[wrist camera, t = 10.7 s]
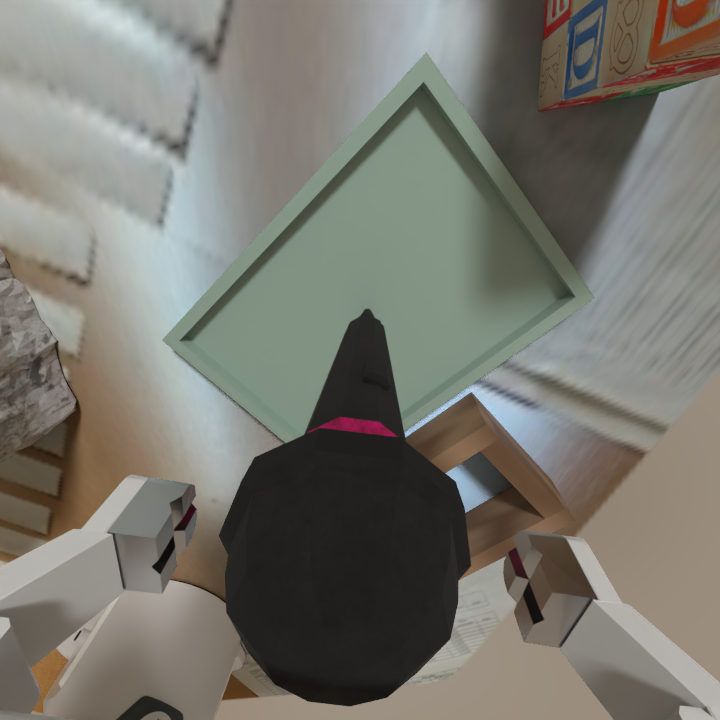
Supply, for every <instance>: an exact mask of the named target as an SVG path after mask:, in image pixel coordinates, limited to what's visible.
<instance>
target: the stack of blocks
mask: <svg viewBox="0 0 720 720" xmlns="http://www.w3.org/2000/svg"><path fill="white" fill-rule="evenodd" d="M718 74H720V0H546V7H545V20H544V35H543V45H542V55H541V69H540V83H539V97H538V111H544V110H551V109H558V108H564V107H571V106H577V105H584V104H590V103H596V102H599V101H603V100H610V99H617V98H624V97H631V96H638V95H645V94H652V93H659V92H663V91H666V90H670V89H673V88H677V87H679V86H682V85H685V84H689V83H692V82H695V81H698V80H701V79H704V78H707V77H711V76H715V75H718Z"/></svg>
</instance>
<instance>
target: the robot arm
mask: <svg viewBox="0 0 720 720" xmlns="http://www.w3.org/2000/svg"><path fill="white" fill-rule="evenodd" d="M195 496H196V493H195V486H194V485H192V484H187V483H181V482H175V481H169V480H163V479H157V478H150V477H143V476H137V475H130V476H128V477H126V478H125V479H124V480H123V481H122V482H121V483H120V484H119V485H118V487H117V488H116V489H115V490H114V491H113V492H112V494H111V495H110V496H109V497H108V498H107V499H106V500H105V502H104V503H103V504H102V505H101V506H100V507H99V509H98V510H97V511H96V512H95V513H94V514H93V516H92V517H91V518H90V519H89V520H88V521H87V523H86V524H85V525H84V526H83V527H82V528H81V529H72V530H70V531H69V532H67V533H65V534H63V535H61V536H59V537H57V538H55V539H53V540H51V541H49V542H47V543H45V544H44V545H42V546H40V547H38V548H36V549H34V550H32V551H30V552H28V553H26V554H24V555H22V556H20V557H19V558H17V559H15V560H13V561H11V562H9V563H7V564H5V565H3V566H1V567H0V720H214V719H215V716H216V714H217V711H218V708H219V705H220V702H221V700H222V697H223V694H224V692H225V689H226V686H227V683H228V681H229V678H230V675H231V672H233V671H236V670H239V669H241V668H242V666H243V663H244V660H245V658H246V655H245V652H244V650H243V648H242V647H241V645H240V639H241V638H240V636H239V634H238V633H237V631H236V629H235V627H234V625H233V624H232V622H231V620H230V618H229V616H228V615H227V613H226V603H224V602H223V601H222V600H220V599H219V598H218V597H216V596H214V595H213V594H211V593H209V592H207V591H205V590H203V589H200V588H198V587H195V586H192V585H189V584H186V583H182V582H178V581H172V580H170V579H171V577H172V575H173V573H174V571H175V569H176V567H177V560H176V556H177V555H178V554H180V553H181V552H183V551H184V550H186V548H187V546H188V544H189V542H190V540H191V538H192V535H193V532H194V529H195V526H196V519H197V509H196V508H195V507H194V505H193V504H192V501H193V500H194V498H195ZM514 543H515V545H516V548H514V549H512V550H511V551H509V552H508V553H507V556H506V558H505V560H504V570H503V574H504V581H505V585H506V588H507V592H508V594H509V595H510V596H511V597H512V598H513V599H514V600H515V601H516V602H517V605H516V608H515V610H514V614H515V617H516V620H517V623H518V626H519V629H520V632H521V635H522V638H523V641H524V642H527V643H533V644H539V645H545V646H551V647H558V648H561V649H560V651H561V652H562V654H563V655H564V656H565V658H566V659H567V660H568V661H569V663H570V664H571V665H572V667H573V668H574V669H575V670H576V672H577V673H578V674H579V676H580V677H581V678H582V679H583V681H584V682H585V683H586V684H587V686H588V687H589V688H590V689H591V691H592V692H593V694H594V695H595V696H596V697H597V699H598V700H599V701H600V703H601V704H602V705H603V706H604V708H605V709H606V710H607V711H608V713H609V714H610V715H611V717H612V718H613V719H614V720H720V683H719V682H718V681H717V680H716V679H715V678H713V677H712V676H711V675H710V674H709V673H708V672H707V671H705V670H704V669H703V668H702V667H701V666H699V664H697V663H696V662H695V661H694V660H692V658H690V657H689V656H688V655H687V654H686V653H685V652H683V651H682V650H681V649H680V648H679V647H678V646H676V645H675V644H674V643H673V642H672V641H671V640H670V639H668V638H667V637H666V636H665V635H664V634H663V633H661V632H660V631H659V630H658V629H657V628H656V627H654V626H653V625H652V624H651V623H650V622H649V621H647V620H646V619H645V618H644V617H643V616H642V615H641V614H639V613H638V612H637V611H636V610H635V609H634V608H632V607H631V606H630V605H629V604H623V603H622V602H621V600H620V598H619V597H618V595H617V593H616V592H615V590H614V588H613V587H612V585H611V583H610V581H609V580H608V578H607V576H606V575H605V573H604V571H603V569H602V568H601V566H600V565H599V563H598V561H597V559H596V558H595V556H594V554H593V553H592V551H591V549H590V548H589V546H588V544H587V543H586V542H585V541H584V540H583V539H582V538H578V537H570V536H563V535H557V534H549V533H541V532H533V531H525V530H520V531H519V532H518V533H517V534H516V536H515V538H514ZM55 648H57V650H58V651H59V652H60V653H61V654H62V655H63V656H64V657H65V658H67V659H68V662H67V663H66V665H65V667H64V668H63V670H62V671H61V673H60V674H59V676H58V678H57V679H56V681H55V682H54V684H53V685H52V687H51V689H50V690H49V692H48V693H47V695H46V697H45V698H44V701H43V715H38V714H30V713H31V712H32V710H33V708H34V707H35V705H36V704H37V702H38V701H39V699H40V697H41V695H40V688H39V685H38V683H37V681H36V679H35V676H34V674H33V672H32V670H31V668H32V667H33V666H34V665H35V664H37V663H38V662H39V661H40V660H42V659H43V658H44V657H45V656H46V655H48V654H49V653H50V652H51V651H53V650H54V649H55Z"/></svg>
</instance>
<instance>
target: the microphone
mask: <svg viewBox="0 0 720 720" xmlns="http://www.w3.org/2000/svg"><path fill="white" fill-rule="evenodd" d="M219 537H220V539H221V541H222V543H223V545H224V547H225V549H226V551H227V553H228V555H229V556H228V562H227V567H226V573H225V585H226V613H227V615H228V616H229V618H230V620H231V622H232V624H233V625H234V627H235V629H236V631H237V633H238V634H239V636H240V638H241V640H242V642H243V643H244V645H245V647H246V649H247V651H248V652H249V654H250V655H251V656H252V657H253V659H254V660H255V661H256V662H257V663H258V665H259V666H260V667H261V668H262V669H263V671H264V672H265V673H266V674H267V675H268V677H269V678H270V679H271V680H272V682H273V683H274V684H275V685H277V686H279V687H281V688H283V689H285V690H287V691H289V692H291V693H293V694H295V695H297V696H299V697H301V698H302V699H305V700H306V701H309V702H317V703H326V704H334V705H343V706H353V705H357V704H361V703H366V702H370V701H374V700H379V699H383V698H387V697H388V696H389V695H391V694H392V693H393V692H394V691H395V690H397V689H398V688H399V687H400V686H401V685H403V684H404V683H405V682H406V681H408V680H409V679H410V678H411V677H412V676H414V675H415V674H416V673H417V672H418V671H419V670H420V669H421V668H422V667H423V666H424V665H425V664H426V663H427V662H428V661H429V660H430V659H431V658H432V657H433V656H434V655H435V654H436V653H437V652H438V651H439V650H440V649H441V648H442V647H443V646H444V645H445V644H446V643H447V642H448V641H449V640H450V637H451V633H452V628H453V623H454V619H455V614H456V609H457V605H458V580H459V579H460V578H461V577H462V576H463V575H464V574H465V573H466V571H467V570H468V569H469V568H470V567H471V559H470V550H469V542H468V534H467V525H466V517H465V509H464V506H463V503H462V500H461V497H460V494H459V491H458V488H457V485H456V482H455V481H454V480H453V479H451V478H450V477H449V476H448V475H446V474H445V473H444V472H443V471H442V470H440V469H439V468H438V467H437V466H435V465H434V464H433V463H432V462H430V461H429V460H428V459H427V458H425V457H424V456H423V455H422V454H421V453H419V452H418V451H417V450H416V449H414V448H413V447H412V446H411V445H409V444H408V443H407V442H406V440H405V434H404V429H403V424H402V419H401V413H400V408H399V403H398V397H397V392H396V387H395V382H394V376H393V371H392V366H391V361H390V355H389V350H388V345H387V340H386V334H385V329H384V326H383V325H382V324H381V321H380V320H378V319H376V318H375V317H374V315H373V313H372V311H371V310H370V309H365V310H364V311H363V313H362V314H361V316H359V317H358V318H356V319H354V320H352V321H351V322H350V323H349V325H348V327H347V329H346V332H345V334H344V336H343V339H342V341H341V344H340V346H339V349H338V351H337V354H336V356H335V359H334V361H333V364H332V366H331V369H330V371H329V374H328V376H327V379H326V381H325V384H324V386H323V389H322V391H321V394H320V396H319V399H318V401H317V404H316V406H315V409H314V411H313V414H312V416H311V419H310V421H309V424H308V426H307V429H306V431H305V434H304V435H303V436H301V437H298V438H296V439H294V440H292V441H290V442H288V443H285V444H283V445H281V446H279V447H277V448H274V449H272V450H270V451H268V452H266V453H263V454H261V455H259V456H257V457H255V458H254V460H253V461H252V463H251V465H250V467H249V469H248V470H247V472H246V474H245V476H244V478H243V480H242V481H241V484H240V486H239V489H238V491H237V493H236V496H235V498H234V501H233V503H232V505H231V508H230V510H229V513H228V515H227V517H226V520H225V522H224V525H223V527H222V529H221V532H220V534H219Z"/></svg>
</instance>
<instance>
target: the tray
mask: <svg viewBox="0 0 720 720" xmlns="http://www.w3.org/2000/svg"><path fill="white" fill-rule="evenodd" d="M594 298H595V297H594V296H593V294H592V293H591V291H590V290H589V288H588V287H587V286H586V284H585V283H584V281H583V280H582V278H581V277H580V275H579V274H578V272H577V271H576V270H575V268H574V267H573V265H572V264H571V262H570V261H569V259H568V258H567V256H566V255H565V253H564V252H563V251H562V249H561V248H560V246H559V245H558V243H557V242H556V240H555V239H554V237H553V236H552V235H551V233H550V232H549V230H548V229H547V227H546V226H545V224H544V223H543V221H542V220H541V218H540V217H539V216H538V214H537V213H536V211H535V210H534V208H533V207H532V205H531V204H530V202H529V201H528V200H527V198H526V197H525V195H524V194H523V192H522V191H521V189H520V188H519V186H518V185H517V183H516V182H515V181H514V179H513V178H512V176H511V175H510V173H509V172H508V170H507V169H506V167H505V166H504V165H503V163H502V162H501V160H500V159H499V157H498V156H497V154H496V153H495V151H494V150H493V148H492V147H491V146H490V144H489V143H488V141H487V140H486V138H485V137H484V135H483V134H482V132H481V131H480V130H479V128H478V127H477V125H476V124H475V122H474V121H473V119H472V118H471V116H470V115H469V113H468V112H467V111H466V109H465V108H464V106H463V105H462V103H461V102H460V100H459V99H458V97H457V96H456V95H455V93H454V92H453V90H452V89H451V87H450V86H449V84H448V83H447V81H446V80H445V78H444V77H443V76H442V74H441V73H440V71H439V70H438V68H437V67H436V65H435V64H434V62H433V61H432V60H431V58H430V57H429V55H428V54H427V52H426V53H425V55H424V56H423V57H422V58H421V59H420V60H419V61H418V62H417V63H416V64H415V65H414V66H413V68H412V69H411V70H410V71H409V72H408V73H407V74H406V75H405V76H404V77H403V78H402V80H401V81H400V82H399V83H398V84H397V85H396V86H395V87H394V88H393V89H392V90H391V92H390V93H389V94H388V95H387V96H386V97H385V98H384V99H383V100H382V101H381V102H380V104H379V105H378V106H377V107H376V108H375V109H374V110H373V111H372V112H371V113H370V114H369V115H368V117H367V118H366V119H365V120H364V121H363V122H362V123H361V124H360V125H359V126H358V127H357V129H356V130H355V131H354V132H353V133H352V134H351V135H350V136H349V137H348V138H347V139H346V141H345V142H344V143H343V144H342V145H341V146H340V147H339V148H338V149H337V150H336V151H335V152H334V154H333V155H332V156H331V157H330V158H329V159H328V160H327V161H326V162H325V163H324V164H323V166H322V167H321V168H320V169H319V170H318V171H317V172H316V173H315V174H314V175H313V176H312V178H311V179H310V180H309V181H308V182H307V183H306V184H305V185H304V186H303V187H302V188H301V190H300V191H299V192H298V193H297V194H296V195H295V196H294V197H293V198H292V199H291V200H290V201H289V203H288V204H287V205H286V206H285V207H284V208H283V209H282V210H281V211H280V212H279V213H278V215H277V216H276V217H275V218H274V219H273V220H272V221H271V222H270V223H269V224H268V225H267V227H266V228H265V229H264V230H263V231H262V232H261V233H260V234H259V235H258V236H257V237H256V238H255V240H254V241H253V242H252V243H251V244H250V245H249V246H248V247H247V248H246V249H245V250H244V252H243V253H242V254H241V255H240V256H239V257H238V258H237V259H236V260H235V261H234V262H233V264H232V265H231V266H230V267H229V268H228V269H227V270H226V271H225V272H224V273H223V274H222V276H221V277H220V278H219V279H218V280H217V281H216V282H215V283H214V284H213V285H212V286H211V287H210V289H209V290H208V291H207V292H206V293H205V294H204V295H203V296H202V297H201V298H200V299H199V301H198V302H197V303H196V304H195V305H194V306H193V307H192V308H191V309H190V310H189V311H188V313H187V314H186V315H185V316H184V317H183V318H182V319H181V320H180V321H179V322H178V323H177V325H176V326H175V327H174V328H173V329H172V330H171V331H170V332H169V333H168V334H167V335H166V336H165V338H164V339H163V340H162V341H164V342H165V343H166V344H167V345H168V346H170V347H171V348H172V349H173V350H174V351H176V352H177V353H178V354H179V355H180V356H182V357H183V358H184V359H185V360H186V361H188V362H189V363H190V364H191V365H192V366H194V367H195V368H196V369H197V370H198V371H200V372H201V373H202V374H203V375H204V376H206V377H207V378H208V379H209V380H210V381H212V382H213V383H214V384H215V385H216V386H218V387H219V388H220V389H221V390H222V391H224V392H225V393H226V394H227V395H228V396H230V397H231V398H232V399H233V400H234V401H236V402H237V403H238V404H239V405H240V406H242V407H243V408H244V409H245V410H246V411H248V412H249V413H250V414H251V415H252V416H254V417H255V418H256V419H257V420H259V421H260V422H261V423H262V424H263V425H265V426H266V427H267V428H268V429H269V430H271V431H272V432H273V433H274V434H275V435H277V436H278V437H279V438H280V439H281V440H283V441H284V442H285V443H288V442H290V441H292V440H294V439H296V438H298V437H301V436H303V435H304V434H305V431H306V429H307V426H308V424H309V421H310V419H311V416H312V414H313V411H314V409H315V406H316V404H317V401H318V399H319V396H320V394H321V391H322V389H323V386H324V384H325V381H326V379H327V376H328V374H329V371H330V369H331V366H332V364H333V361H334V359H335V356H336V354H337V351H338V349H339V346H340V344H341V341H342V339H343V336H344V334H345V332H346V329H347V327H348V325H349V323H350V322H351V321H352V320H354V319H356V318H358V317H359V316H361V314H362V313H363V311H364V310H365V309H370V310H371V311H372V313H373V315H374V317H375V318H376V319H378V320H380V321H381V324H382V325H383V326H384V329H385V334H386V340H387V345H388V350H389V355H390V361H391V366H392V371H393V376H394V382H395V387H396V392H397V397H398V403H399V408H400V413H401V419H402V424H403V429H404V431H406V430H407V429H408V428H410V427H411V426H413V425H414V424H416V423H417V422H418V421H420V420H421V419H423V418H424V417H426V416H427V415H428V414H430V413H431V412H433V411H434V410H436V409H437V408H438V407H440V406H441V405H443V404H444V403H446V402H447V401H448V400H450V399H451V398H453V397H454V396H456V395H457V394H458V393H460V392H461V391H463V390H464V389H466V388H467V387H468V386H470V385H471V384H473V383H474V382H476V381H477V380H478V379H480V378H481V377H483V376H484V375H486V374H487V373H488V372H490V371H491V370H493V369H494V368H496V367H497V366H498V365H500V364H501V363H503V362H504V361H506V360H507V359H508V358H510V357H511V356H513V355H514V354H516V353H517V352H518V351H520V350H521V349H523V348H524V347H526V346H527V345H528V344H530V343H531V342H533V341H534V340H536V339H537V338H538V337H540V336H541V335H543V334H544V333H546V332H547V331H548V330H550V329H551V328H553V327H554V326H556V325H557V324H558V323H560V322H561V321H563V320H564V319H566V318H567V317H568V316H570V315H571V314H573V313H574V312H576V311H577V310H578V309H580V308H581V307H583V306H584V305H586V304H587V303H588V302H590V301H591V300H593V299H594Z"/></svg>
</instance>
